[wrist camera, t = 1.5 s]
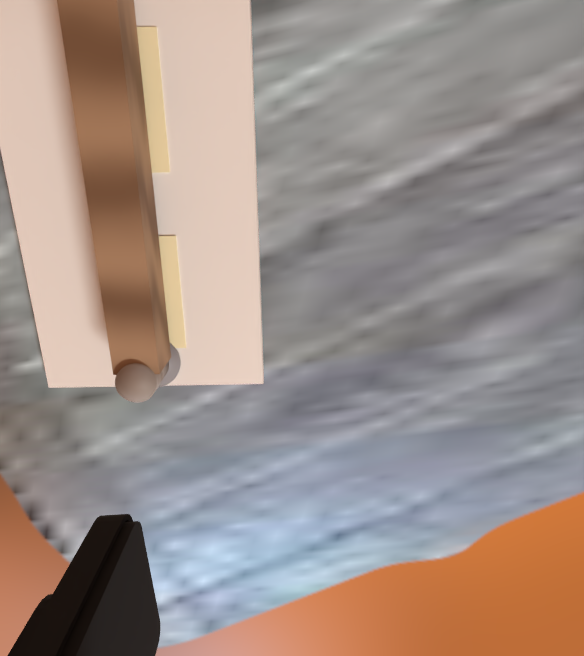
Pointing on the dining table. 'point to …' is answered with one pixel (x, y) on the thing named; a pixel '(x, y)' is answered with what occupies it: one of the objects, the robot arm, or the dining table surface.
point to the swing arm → (118, 187)
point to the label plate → (168, 182)
